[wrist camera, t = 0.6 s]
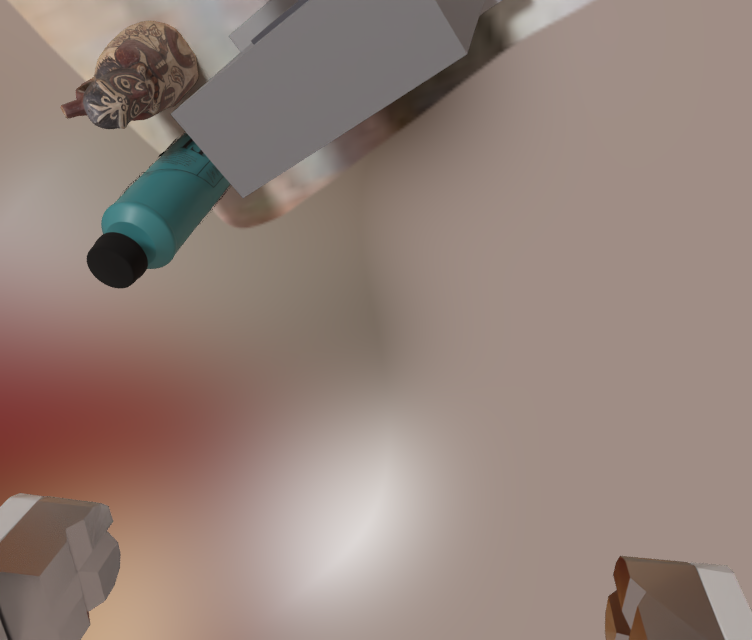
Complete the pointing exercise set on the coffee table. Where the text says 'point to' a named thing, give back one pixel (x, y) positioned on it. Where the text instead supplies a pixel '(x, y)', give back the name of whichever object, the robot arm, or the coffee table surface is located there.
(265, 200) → the coffee table surface
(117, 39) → the figurine
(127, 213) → the beverage bottle
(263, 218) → the coffee table surface
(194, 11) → the coffee table surface
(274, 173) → the block
